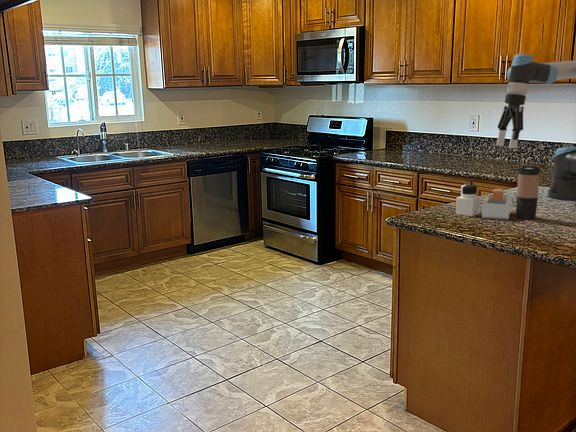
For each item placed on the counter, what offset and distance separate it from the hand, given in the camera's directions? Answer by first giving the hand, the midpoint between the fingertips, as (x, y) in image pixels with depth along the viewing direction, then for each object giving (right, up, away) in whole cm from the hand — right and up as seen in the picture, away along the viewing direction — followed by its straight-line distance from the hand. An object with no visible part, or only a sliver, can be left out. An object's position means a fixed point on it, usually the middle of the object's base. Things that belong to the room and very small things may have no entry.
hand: (506, 147), depth 231 cm
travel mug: (+5, -29, -8) cm, 31 cm away
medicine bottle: (-15, -28, +1) cm, 32 cm away
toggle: (-4, -21, 0) cm, 22 cm away
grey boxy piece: (-5, -28, -2) cm, 28 cm away
